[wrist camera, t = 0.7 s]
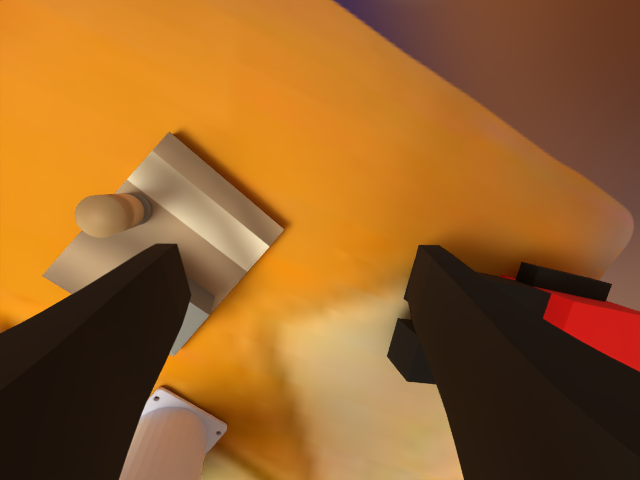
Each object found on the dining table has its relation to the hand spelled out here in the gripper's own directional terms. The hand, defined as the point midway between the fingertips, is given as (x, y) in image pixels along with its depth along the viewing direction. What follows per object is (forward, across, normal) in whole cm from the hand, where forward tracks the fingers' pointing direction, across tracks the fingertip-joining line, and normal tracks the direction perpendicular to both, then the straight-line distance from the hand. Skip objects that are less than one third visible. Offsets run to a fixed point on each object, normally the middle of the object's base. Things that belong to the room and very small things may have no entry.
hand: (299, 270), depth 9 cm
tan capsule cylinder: (+15, +14, +6) cm, 21 cm away
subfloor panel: (+15, +12, +10) cm, 21 cm away
